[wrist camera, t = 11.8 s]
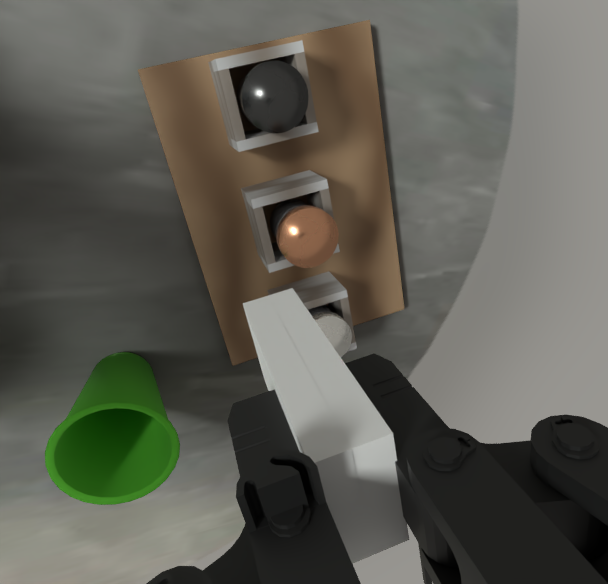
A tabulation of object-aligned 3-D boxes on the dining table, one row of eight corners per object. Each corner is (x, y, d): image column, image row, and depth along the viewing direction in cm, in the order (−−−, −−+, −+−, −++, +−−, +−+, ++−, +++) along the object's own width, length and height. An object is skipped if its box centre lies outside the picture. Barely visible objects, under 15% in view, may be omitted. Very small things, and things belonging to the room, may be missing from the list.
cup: (110, 312, 41) (96, 381, 32) (194, 363, 46) (205, 438, 36) (47, 387, 42) (15, 477, 33) (135, 431, 47) (130, 521, 37)
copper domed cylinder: (271, 254, 39) (286, 275, 35) (259, 202, 37) (273, 217, 33) (322, 239, 40) (343, 258, 36) (312, 187, 38) (333, 201, 34)
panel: (230, 359, 47) (240, 393, 41) (138, 70, 35) (135, 67, 30) (399, 304, 50) (427, 329, 44) (363, 21, 38) (396, 11, 33)
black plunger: (239, 133, 36) (252, 140, 32) (224, 71, 34) (234, 68, 30) (294, 120, 37) (314, 124, 33) (282, 58, 35) (301, 53, 31)
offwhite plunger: (291, 343, 45) (306, 371, 40) (281, 302, 43) (296, 326, 38) (335, 328, 45) (355, 354, 41) (327, 287, 43) (347, 310, 39)
